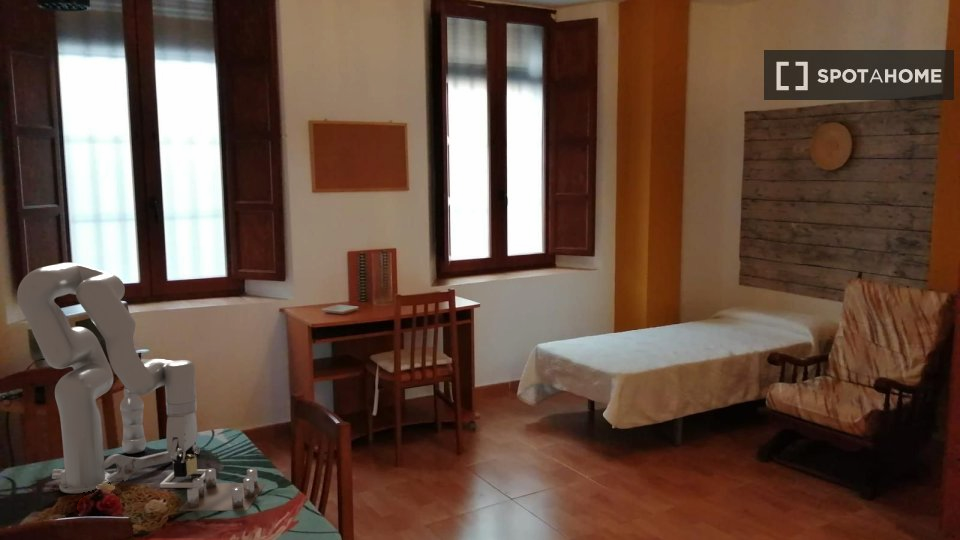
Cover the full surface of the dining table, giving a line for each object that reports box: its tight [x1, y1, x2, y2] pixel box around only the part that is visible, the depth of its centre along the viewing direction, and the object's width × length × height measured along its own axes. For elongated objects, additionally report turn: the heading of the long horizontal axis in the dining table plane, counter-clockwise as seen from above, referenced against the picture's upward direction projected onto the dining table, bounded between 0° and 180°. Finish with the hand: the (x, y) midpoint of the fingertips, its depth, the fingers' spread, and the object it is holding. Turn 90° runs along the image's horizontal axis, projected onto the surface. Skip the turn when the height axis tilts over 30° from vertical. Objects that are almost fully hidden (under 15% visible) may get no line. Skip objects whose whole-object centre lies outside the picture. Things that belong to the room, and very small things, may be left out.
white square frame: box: [159, 468, 208, 489], centre depth 204 cm, size 10×10×2 cm
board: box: [177, 482, 267, 512], centre depth 194 cm, size 17×17×1 cm
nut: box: [172, 454, 198, 477], centre depth 204 cm, size 6×6×4 cm
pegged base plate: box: [186, 467, 259, 509], centre depth 194 cm, size 16×15×4 cm
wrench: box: [102, 445, 201, 482], centre depth 214 cm, size 8×2×30 cm
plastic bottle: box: [119, 386, 147, 455], centre depth 227 cm, size 6×7×20 cm
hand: (185, 471), depth 204 cm, fingers closed on nut, 5 cm apart
